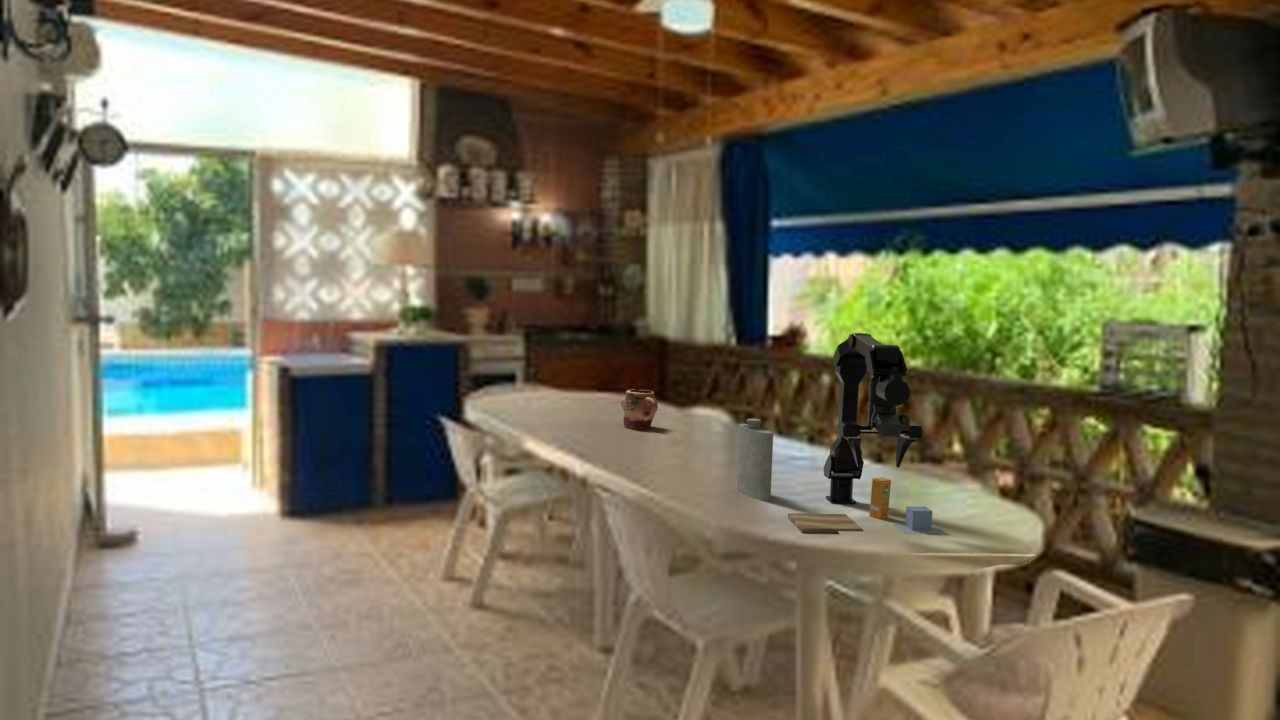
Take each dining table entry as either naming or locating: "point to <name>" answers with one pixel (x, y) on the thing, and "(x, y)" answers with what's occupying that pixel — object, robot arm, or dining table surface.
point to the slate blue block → (918, 518)
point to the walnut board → (823, 523)
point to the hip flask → (754, 460)
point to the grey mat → (906, 530)
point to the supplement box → (880, 498)
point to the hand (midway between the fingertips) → (878, 467)
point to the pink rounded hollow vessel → (639, 408)
